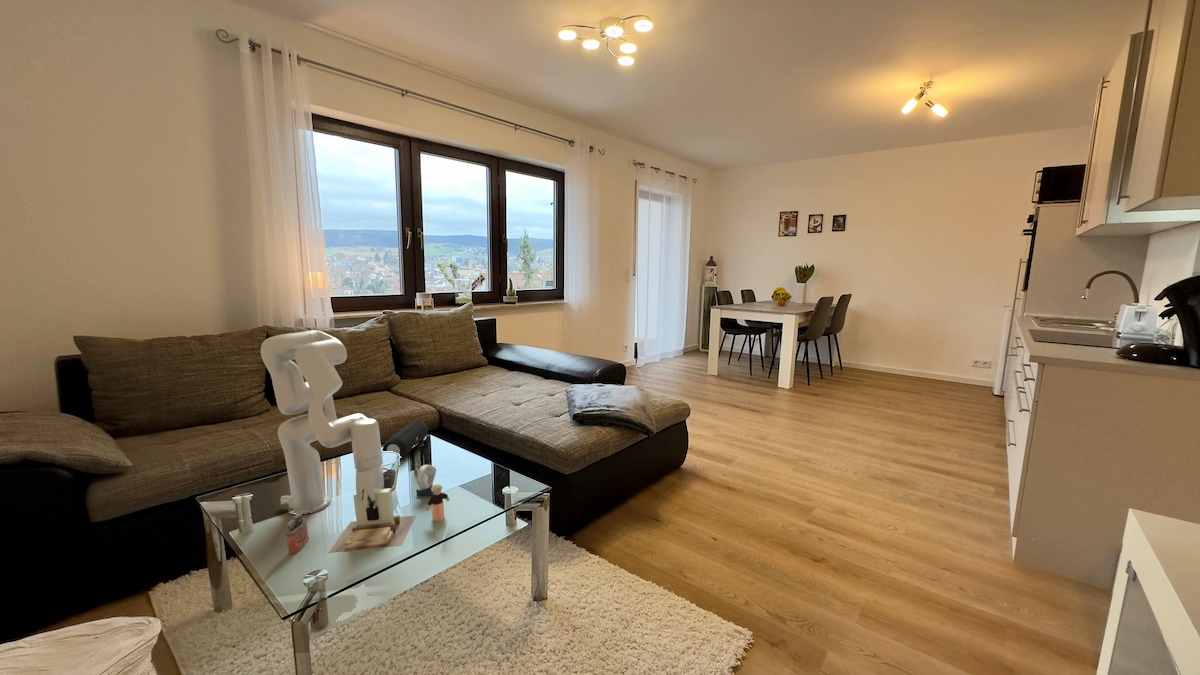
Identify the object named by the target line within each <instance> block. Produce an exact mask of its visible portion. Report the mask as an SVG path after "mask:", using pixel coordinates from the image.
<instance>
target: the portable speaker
mask: <svg viewBox="0 0 1200 675" xmlns="http://www.w3.org/2000/svg"><path fill="white" fill-rule="evenodd" d="M428 431H429V429H428V426H427V424H426V423H425V422H424V421H421V420H413V421H411V422H409V423H408V424H406V425H405V426H404V427H402V429H400V430H399V431H397V432H396V433H394V434H393V435H391V437H390V438H388V439H387V440H386V441H385V442H384V444H383V446H382V448H381V451H393V452H396V453H399V454H400V456H401V457H402V459H404V457H406V456H407V455H408V454H409V453H410V452H411V451H412V450H411V448H412V447H413V446H414V445H416V444H417V443H418V442H419V441H421V440H422V439H423V438H424V437H425V436H426V435H428ZM426 437H427V436H426ZM422 441H423V440H422ZM422 441H421V442H422ZM410 450H411V451H410ZM409 451H410V452H409ZM408 452H409V453H408ZM407 453H408V454H407ZM406 454H407V455H406Z"/></svg>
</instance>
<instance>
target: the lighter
mask: <svg viewBox="0 0 1200 675" xmlns="http://www.w3.org/2000/svg"><path fill="white" fill-rule="evenodd" d="M307 522H308V518H307V517H303V515H302V514H298V515H294V516H292V518H291V520H290V521H289V522H288V523H287V524H286V530H285V531H284V536H285V538H286V543H287V549H288V554H287V555H295V554H297V553H298V552H300V551H301V550H302V549H303V548H304V547H305V546H306V544H308V542H309V540H310V539H309V538H310V537H309V531H308V525H307Z"/></svg>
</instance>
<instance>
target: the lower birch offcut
mask: <svg viewBox="0 0 1200 675" xmlns="http://www.w3.org/2000/svg"><path fill="white" fill-rule="evenodd" d="M350 536H351V535H350ZM350 536H349V538H348V539H347V540H346V542H345V548H351V547H361V546H370V545H380V544H389V542H390V541H391V539H392V537H393V531H391V532H390V534H389V535H388V537H387V539H378V540H368V541H359V542H350Z"/></svg>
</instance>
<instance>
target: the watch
mask: <svg viewBox="0 0 1200 675" xmlns="http://www.w3.org/2000/svg"><path fill="white" fill-rule="evenodd" d="M436 472H437V468H436V467H435V466H433V465H431V464H424V465H421V466H420V467H419V469H418V471H417V474H416V483H417V486H418V487H417V489H416V496H419V497H420V496H421V497H432V496H433V495H434V494H433V492H432V490H431V488H432V486H433V485H434V484H433V483H434V480H435V477H436V474H437V473H436ZM424 474H425V475H426V477H427V480H426V483H425V481H424Z"/></svg>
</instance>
